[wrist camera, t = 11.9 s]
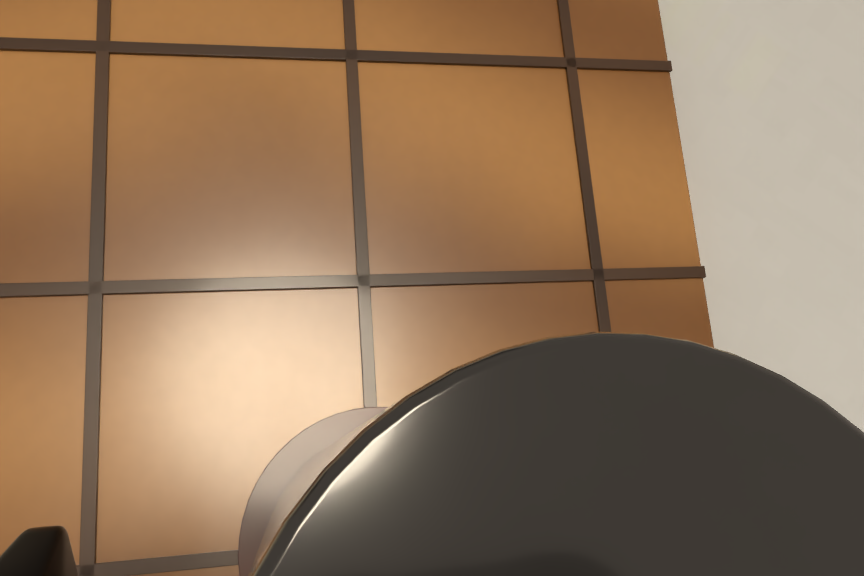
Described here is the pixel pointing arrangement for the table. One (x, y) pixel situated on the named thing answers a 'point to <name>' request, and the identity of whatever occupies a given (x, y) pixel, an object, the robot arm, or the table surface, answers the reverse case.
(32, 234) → the board
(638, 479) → the dark grey cylinder
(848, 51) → the table surface
